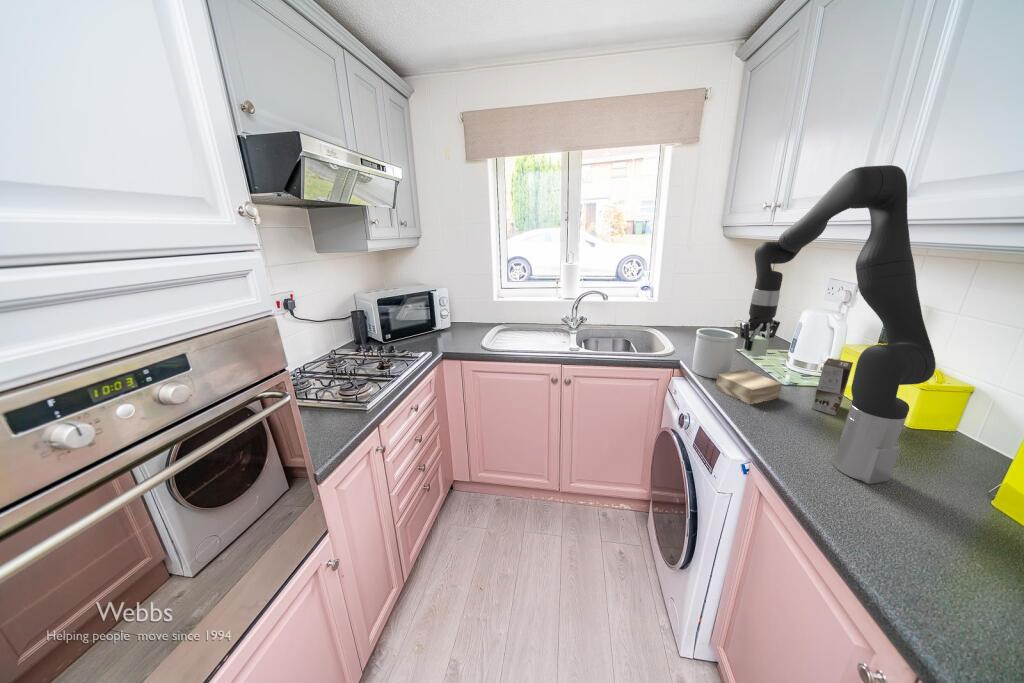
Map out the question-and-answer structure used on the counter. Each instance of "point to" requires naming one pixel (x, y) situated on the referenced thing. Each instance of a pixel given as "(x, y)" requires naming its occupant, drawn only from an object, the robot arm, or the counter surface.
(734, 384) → the birch block
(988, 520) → the counter surface
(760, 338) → the sage block
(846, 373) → the coffee box
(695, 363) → the utensil holder
